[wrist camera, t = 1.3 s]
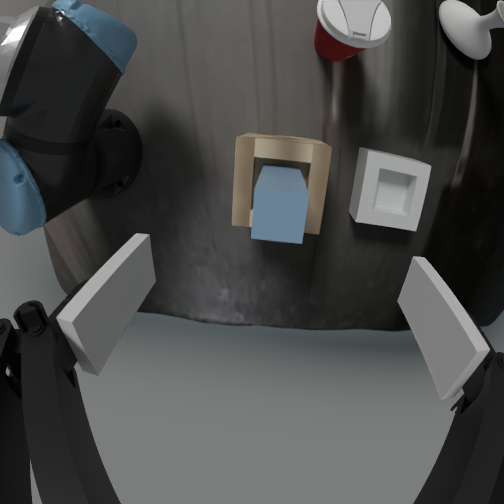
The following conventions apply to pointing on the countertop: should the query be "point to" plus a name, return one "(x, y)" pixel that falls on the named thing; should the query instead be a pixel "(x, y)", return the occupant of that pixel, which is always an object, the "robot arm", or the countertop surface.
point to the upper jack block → (280, 153)
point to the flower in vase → (470, 27)
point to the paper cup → (350, 27)
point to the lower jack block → (388, 189)
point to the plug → (279, 205)
